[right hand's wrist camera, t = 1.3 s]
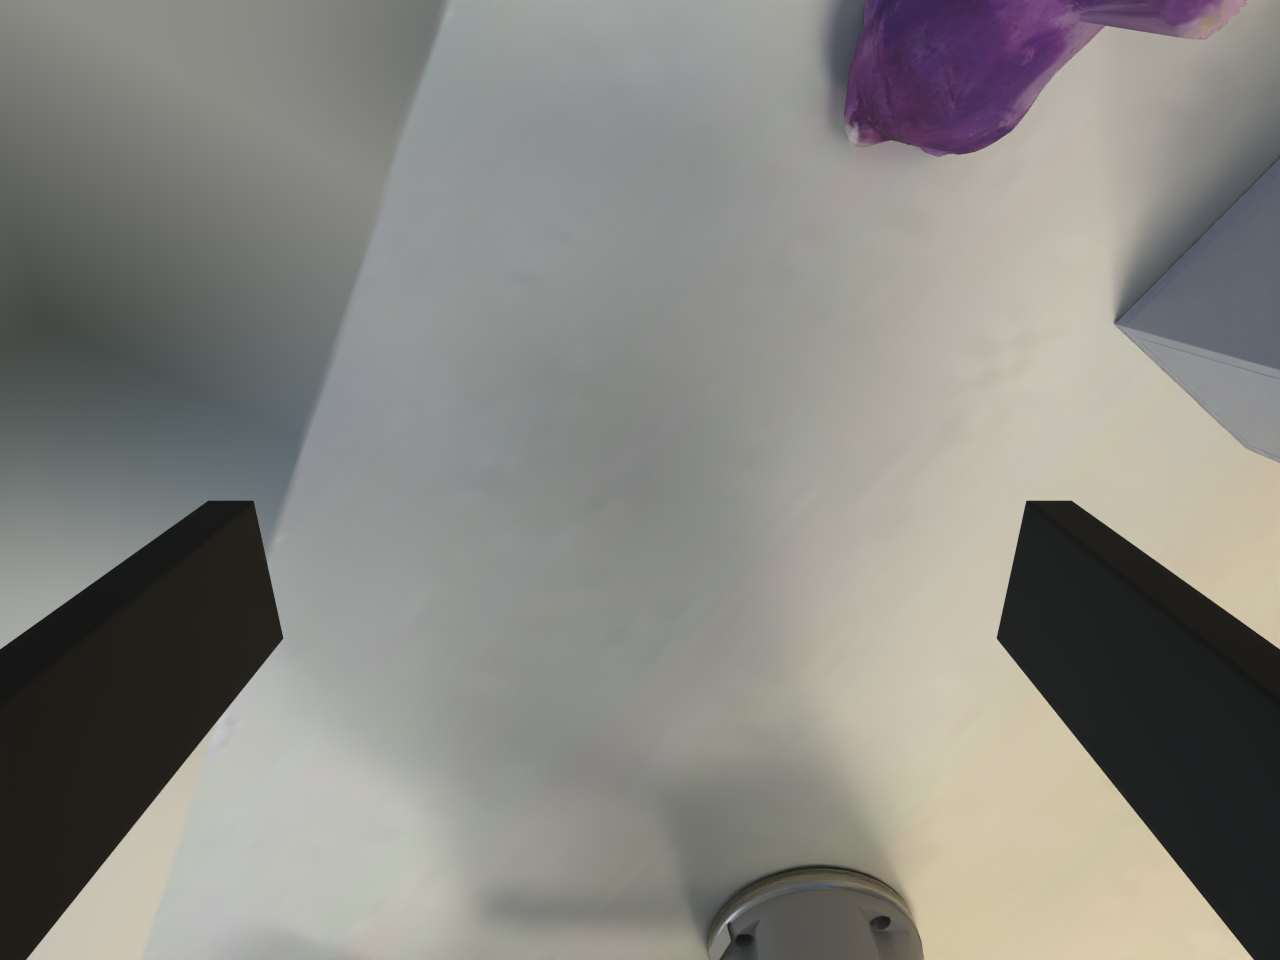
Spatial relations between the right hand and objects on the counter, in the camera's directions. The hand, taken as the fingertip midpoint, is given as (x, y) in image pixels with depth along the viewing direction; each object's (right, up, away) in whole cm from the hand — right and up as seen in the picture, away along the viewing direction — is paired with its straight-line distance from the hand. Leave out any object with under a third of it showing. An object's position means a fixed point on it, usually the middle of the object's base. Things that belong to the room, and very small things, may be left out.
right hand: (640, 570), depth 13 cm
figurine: (+14, +21, +19) cm, 32 cm away
